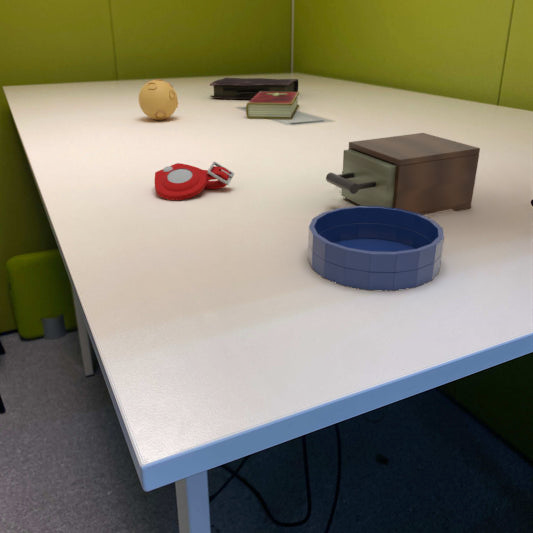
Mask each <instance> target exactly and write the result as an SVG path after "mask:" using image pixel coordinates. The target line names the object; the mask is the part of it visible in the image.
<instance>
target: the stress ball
mask: <svg viewBox="0 0 533 533" xmlns="http://www.w3.org/2000/svg"><path fill="white" fill-rule="evenodd" d="M178 100H179V99H178V94H177V92H176V90H175V89H174V86H173V85H172V84H171V83H169V82H167V81H164V80H163V79H159V78H155V79H152V80H150V81H147V82H146V83H145V84H143V86H142V87H141V88H140V91H139V93H138V105H139V108H140V109H141V111H142V112H143V114H144V115H145V116H147V117H148V118H149V119H153V120H156V121H161V120H166V119H169V118H170V117H171V116H172V115H173V114H174V113H175V112H176V110H177V108H178V106H179V101H178Z"/></svg>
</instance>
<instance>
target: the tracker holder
mask: <svg viewBox="0 0 533 533" xmlns="http://www.w3.org/2000/svg"><path fill="white" fill-rule="evenodd" d="M234 176H235V172H233V171H232V170H230V169H228V168H227V167H225V166H224V165H222V164H220V163H218V162H217V161H212V163H211V164H210V166H209V168H208V169H202V168H200V167H197V166H194V165H190V164H186V163H179V162H177V163H174V164H172V165H169V166H168V165H167V166H165V167H164V168H162V169H160V170H157V171H155V172H154V189H155V193H156V194H157V196H158V197H160V198H162V199H164V200H169V201H184V200H188V199H191V198H193V197H196V196H197V195H199V194H200V193H201V192H202V191H204V188H205V190H218V189H223V188H225V187H227V186H229V185H230V183H231V181H232V179H233V177H234Z"/></svg>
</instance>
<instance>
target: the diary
mask: <svg viewBox="0 0 533 533" xmlns="http://www.w3.org/2000/svg"><path fill="white" fill-rule="evenodd" d="M210 86H211V87H212V88H213V95H212V94H211V95H209V97H211V98H213V99H226V100H251V99H252V98H253V97H254V96H255V95H256V94H258V93H259V92H299V79H298V78H263V77H256V78H253V77H252V78H251V77H250V78H249V77H248V78H243V77H242V78H241V77H223V78H221V79H217V80H213V81H212V82H210V83H209V87H210Z"/></svg>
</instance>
